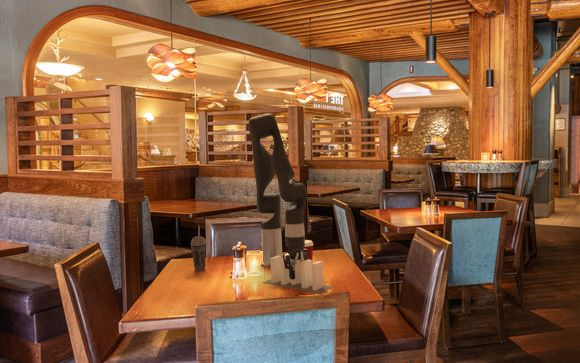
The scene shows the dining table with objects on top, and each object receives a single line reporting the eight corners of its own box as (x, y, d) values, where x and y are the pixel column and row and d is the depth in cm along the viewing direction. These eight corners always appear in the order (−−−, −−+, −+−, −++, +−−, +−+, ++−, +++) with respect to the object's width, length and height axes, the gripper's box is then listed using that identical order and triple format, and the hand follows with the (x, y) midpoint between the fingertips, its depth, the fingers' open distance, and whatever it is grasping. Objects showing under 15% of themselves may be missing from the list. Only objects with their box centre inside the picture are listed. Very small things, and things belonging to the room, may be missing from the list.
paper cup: (317, 272, 221) (316, 240, 219) (310, 276, 214) (309, 243, 212) (300, 271, 224) (299, 239, 223) (293, 275, 217) (292, 242, 216)
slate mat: (261, 284, 205) (261, 282, 205) (276, 278, 213) (276, 277, 213) (319, 295, 188) (319, 293, 188) (333, 288, 196) (333, 286, 196)
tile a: (271, 282, 205) (270, 257, 204) (279, 279, 209) (278, 255, 208) (274, 283, 204) (273, 258, 203) (282, 280, 208) (281, 255, 207)
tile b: (281, 284, 202) (280, 259, 201) (288, 281, 206) (287, 256, 205) (284, 284, 201) (283, 259, 200) (291, 281, 205) (291, 257, 204)
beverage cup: (188, 271, 230) (186, 227, 229) (197, 267, 237) (195, 224, 235) (202, 272, 228) (200, 228, 226) (211, 268, 234) (208, 225, 233)
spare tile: (301, 281, 202) (301, 256, 201) (294, 284, 198) (293, 259, 197) (298, 280, 203) (297, 256, 202) (291, 283, 199) (290, 258, 198)
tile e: (312, 289, 193) (311, 263, 192) (319, 286, 197) (319, 261, 196) (315, 290, 192) (315, 264, 191) (323, 287, 196) (322, 261, 195)
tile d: (301, 287, 196) (300, 262, 195) (309, 284, 200) (308, 259, 199) (305, 288, 195) (304, 262, 194) (312, 285, 199) (311, 260, 198)
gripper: (291, 238, 191) (293, 283, 192) (313, 232, 202) (314, 274, 204) (275, 236, 195) (277, 280, 197) (298, 230, 207) (299, 272, 208)
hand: (296, 277), depth 200 cm, fingers closed on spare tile, 4 cm apart
